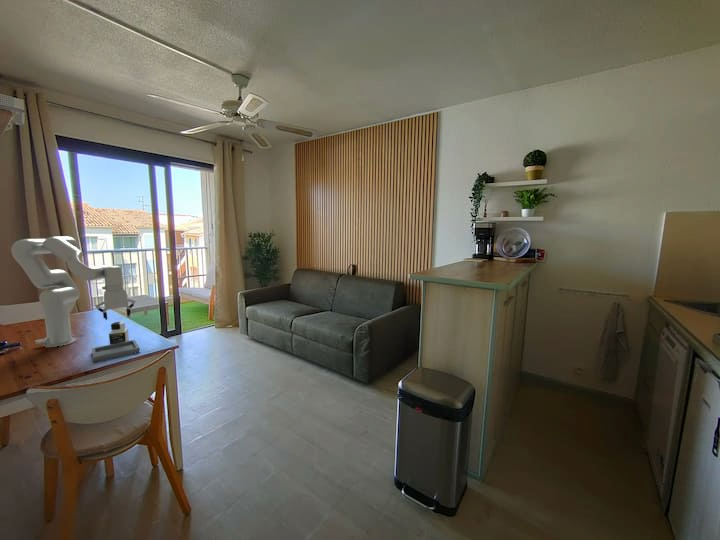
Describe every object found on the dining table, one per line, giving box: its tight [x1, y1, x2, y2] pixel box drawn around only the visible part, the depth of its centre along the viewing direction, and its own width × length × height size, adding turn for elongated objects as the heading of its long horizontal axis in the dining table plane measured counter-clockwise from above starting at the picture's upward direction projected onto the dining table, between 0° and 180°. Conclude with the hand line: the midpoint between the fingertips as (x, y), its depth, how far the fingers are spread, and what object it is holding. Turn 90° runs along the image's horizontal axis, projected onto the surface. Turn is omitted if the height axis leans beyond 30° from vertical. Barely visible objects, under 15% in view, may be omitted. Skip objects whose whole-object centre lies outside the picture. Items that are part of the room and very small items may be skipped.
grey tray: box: [91, 339, 140, 363], centre depth 152 cm, size 18×16×2 cm
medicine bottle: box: [108, 321, 130, 345], centre depth 164 cm, size 7×7×12 cm
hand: (117, 317), depth 163 cm, fingers open, 9 cm apart
